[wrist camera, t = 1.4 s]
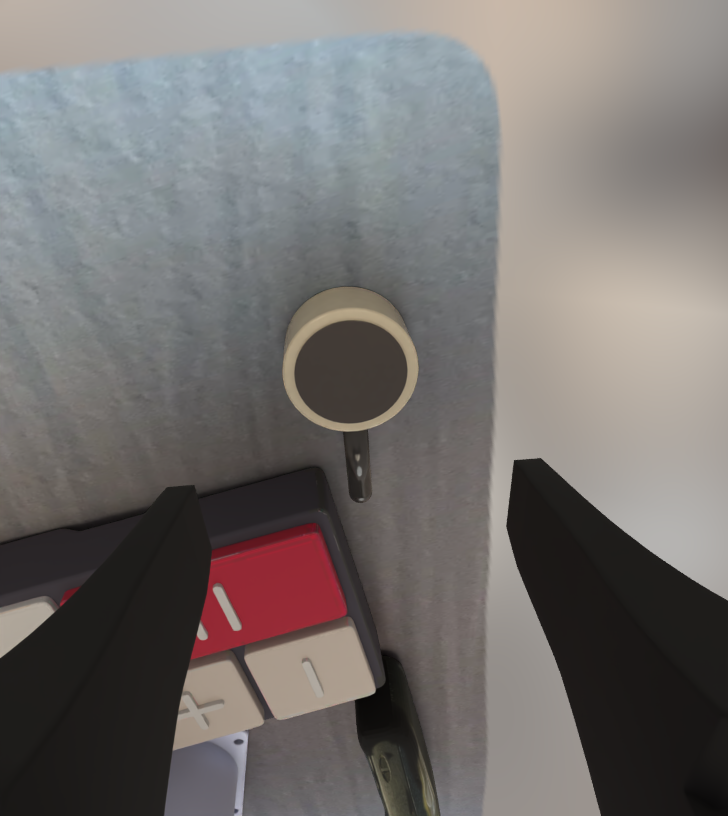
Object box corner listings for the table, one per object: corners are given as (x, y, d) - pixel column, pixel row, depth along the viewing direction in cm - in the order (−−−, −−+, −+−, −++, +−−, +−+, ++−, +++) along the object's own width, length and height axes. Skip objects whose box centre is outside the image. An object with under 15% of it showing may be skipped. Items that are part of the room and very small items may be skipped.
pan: (276, 291, 20) (273, 315, 18) (406, 280, 20) (418, 302, 18) (303, 477, 24) (302, 515, 22) (411, 467, 24) (421, 503, 22)
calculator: (391, 702, 26) (69, 792, 26) (376, 625, 29) (95, 704, 29) (329, 520, 20) (-79, 632, 20) (320, 455, 24) (-23, 549, 24)
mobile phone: (347, 746, 25) (407, 901, 32) (413, 732, 25) (459, 890, 32) (342, 652, 30) (396, 806, 37) (398, 640, 30) (442, 796, 36)
